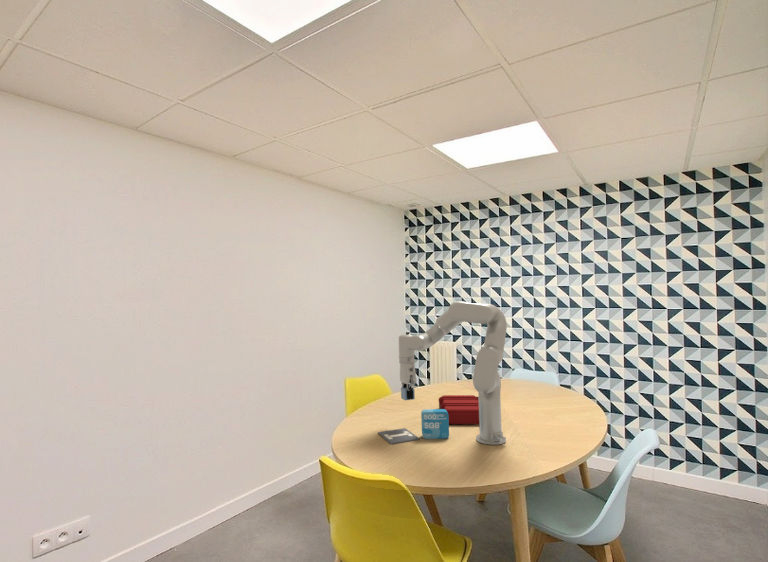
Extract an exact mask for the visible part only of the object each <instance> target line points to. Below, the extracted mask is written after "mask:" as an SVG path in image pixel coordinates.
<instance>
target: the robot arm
mask: <svg viewBox="0 0 768 562" xmlns="http://www.w3.org/2000/svg"><path fill="white" fill-rule="evenodd" d="M463 322H465V323H473V324H479V325H481V324H482V325H485V324H486V325H487V327H486V332H485V339H484V342H483V343H484V344H483V346H482V347H481V348H480V349H479V350H478V352H477V354H476V358H475V363H474V364H475V365H474V370H473V377H472V384H473V387H474V389H475V390H476V391H477V393H478V396H477V397H478V402H479V424H478V426H479V428H478V429H479V430H478V431H479V434H477V435H476V437H475V440H476V441H477V442H479V443H480V444H484V445H491V446H498V445H502V444H505V443H506V441H507V437H506V436H504V431H503V429H502V405H501V399H502V398H501V388H502V386H501V385H502V383H501V382H502V379H501V375H500V373H499V371H498V370H499V364H501V362H502V361H503V359H504V352H505V351H504V350H505V344H506V335H507V327H508V324H507V319H506V316H505V314H504V313H503V311H502V310H501V309H500V308H498V307H497V306H496V305H495V304H492V303H472V302H467V301H464V300H463V301H462V300H461V301H459V300H458V301H454V302H452V303H451V304H450V305H449V306H448V309H447V310H446V311H445V312H444V313H442V314H441V315H439V316H438V317H437V318H436V319H435V323H434V324H433V325H432V326H431V327H430V328H429V329H427V330H426V331H425V332H423V333H421V334H416V335H412V334H400V335H399V336H398V360H399V361H398V363H399V381H400V382H401V388H405V387H407V390H408V391H407V399H413V390H414V391H415V385H416V383H417V376H416V375H417V374H416V365H415V361H416V360H415V351H416V352H420V351H424V350H427V349H429V348H431V347H432V346H434V345H435V344H436V343H438V342H440V340H441V339H443V338H445V336H447V335H448V334H449V333H450V332H451V331H453V330H454V329H455V328H456V327H458V326H459V325H460V324H462V323H463ZM413 388H414V389H413ZM413 400H414V399H413Z"/></svg>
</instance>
